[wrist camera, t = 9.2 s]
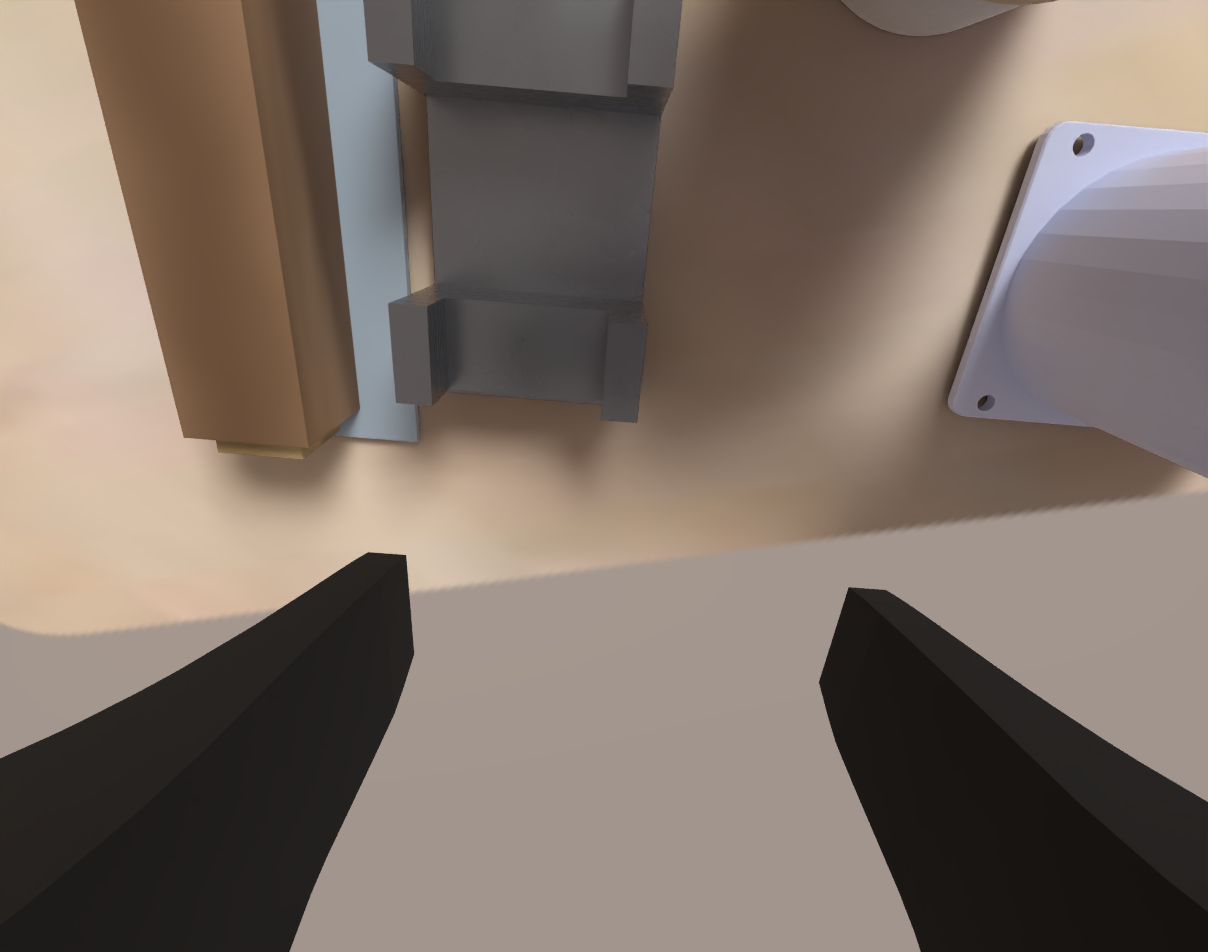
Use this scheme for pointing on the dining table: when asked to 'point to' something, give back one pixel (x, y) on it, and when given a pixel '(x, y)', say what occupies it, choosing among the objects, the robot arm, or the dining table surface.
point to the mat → (368, 213)
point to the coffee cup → (930, 13)
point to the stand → (531, 193)
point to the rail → (232, 211)
